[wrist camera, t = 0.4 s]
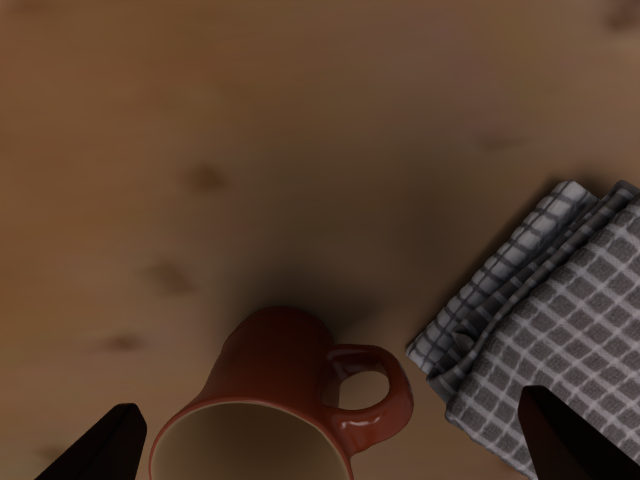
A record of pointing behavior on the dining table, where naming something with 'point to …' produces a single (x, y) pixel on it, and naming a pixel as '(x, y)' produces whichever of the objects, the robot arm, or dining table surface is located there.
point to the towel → (546, 325)
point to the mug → (280, 406)
